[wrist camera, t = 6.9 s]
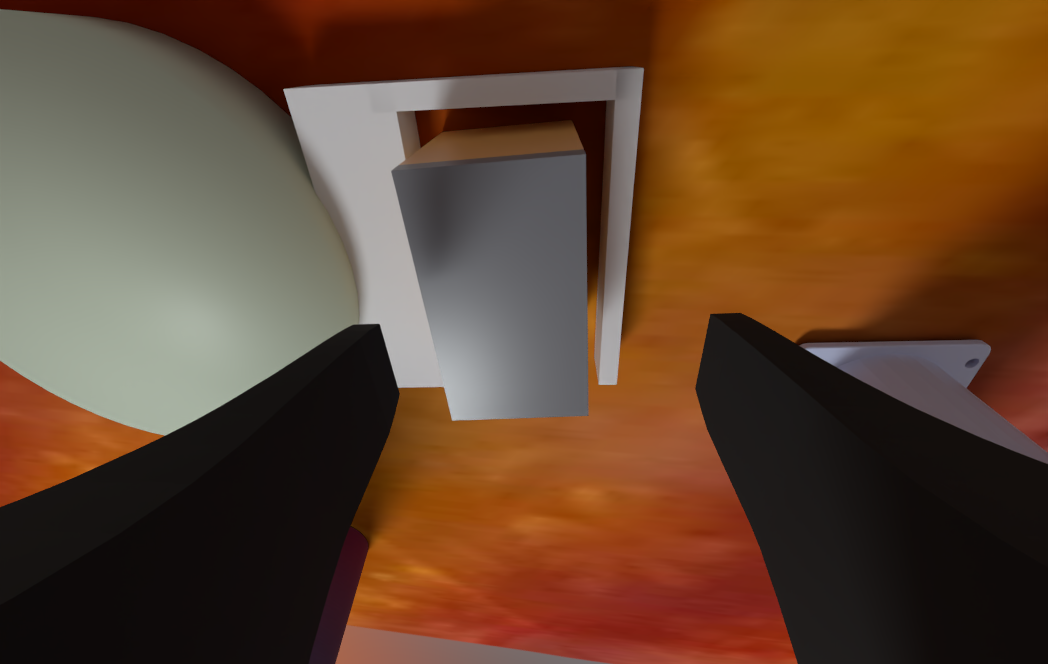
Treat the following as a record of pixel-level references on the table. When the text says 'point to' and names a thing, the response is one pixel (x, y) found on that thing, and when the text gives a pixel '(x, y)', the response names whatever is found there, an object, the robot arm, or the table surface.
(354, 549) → the cup
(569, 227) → the rectangular flat-faced block
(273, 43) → the table surface
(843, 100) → the table surface
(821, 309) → the table surface
